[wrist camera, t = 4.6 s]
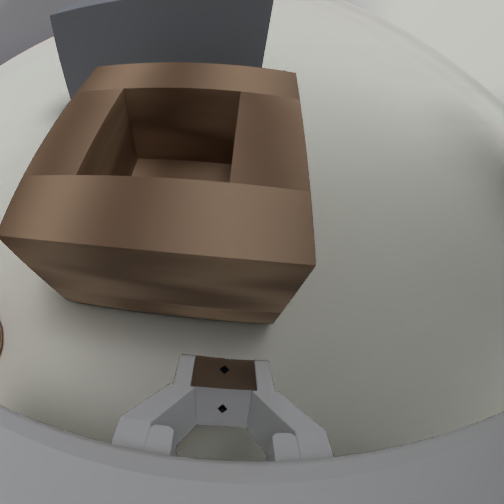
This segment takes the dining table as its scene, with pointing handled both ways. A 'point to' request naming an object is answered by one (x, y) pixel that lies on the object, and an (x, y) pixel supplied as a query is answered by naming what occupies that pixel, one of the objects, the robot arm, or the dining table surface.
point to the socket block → (172, 193)
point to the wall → (158, 34)
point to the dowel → (0, 337)
